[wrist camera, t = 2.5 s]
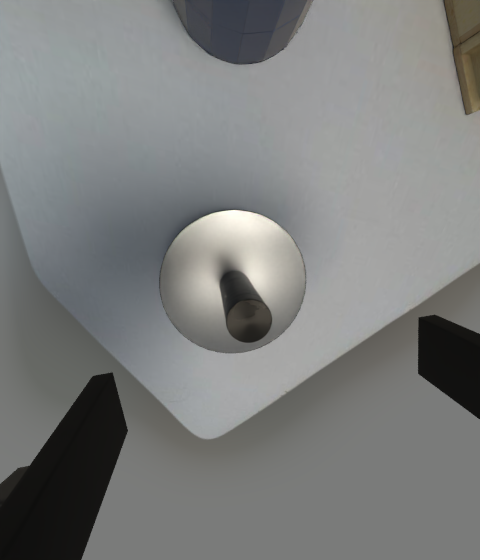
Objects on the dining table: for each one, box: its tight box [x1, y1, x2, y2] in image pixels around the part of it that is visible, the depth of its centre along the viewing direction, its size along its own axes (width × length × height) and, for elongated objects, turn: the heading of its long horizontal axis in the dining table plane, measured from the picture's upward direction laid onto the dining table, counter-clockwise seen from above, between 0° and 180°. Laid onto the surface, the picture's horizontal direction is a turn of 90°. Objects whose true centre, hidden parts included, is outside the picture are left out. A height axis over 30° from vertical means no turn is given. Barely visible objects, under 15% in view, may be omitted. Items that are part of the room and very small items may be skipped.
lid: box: [159, 210, 306, 353], centre depth 24 cm, size 14×14×11 cm
